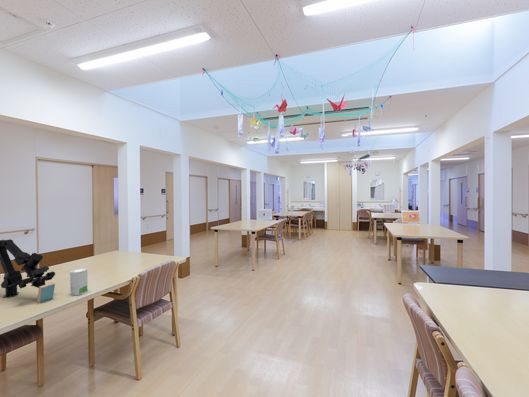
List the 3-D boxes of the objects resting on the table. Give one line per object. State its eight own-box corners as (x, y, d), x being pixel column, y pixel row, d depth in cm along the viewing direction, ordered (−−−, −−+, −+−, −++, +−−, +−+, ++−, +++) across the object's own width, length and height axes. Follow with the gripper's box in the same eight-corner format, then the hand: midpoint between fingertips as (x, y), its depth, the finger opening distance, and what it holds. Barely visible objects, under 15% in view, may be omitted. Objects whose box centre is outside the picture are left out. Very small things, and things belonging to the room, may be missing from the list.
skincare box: (78, 295, 178) (78, 272, 178) (69, 295, 179) (69, 271, 178) (88, 291, 186) (87, 268, 186) (79, 290, 187) (79, 268, 187)
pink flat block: (36, 301, 166) (39, 286, 166) (50, 297, 174) (52, 282, 173) (39, 303, 166) (42, 287, 165) (53, 298, 174) (55, 283, 173)
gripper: (21, 266, 162) (35, 286, 159) (53, 259, 180) (66, 276, 177) (12, 278, 164) (25, 298, 162) (44, 270, 182) (57, 287, 180)
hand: (44, 289), depth 170 cm, fingers closed
